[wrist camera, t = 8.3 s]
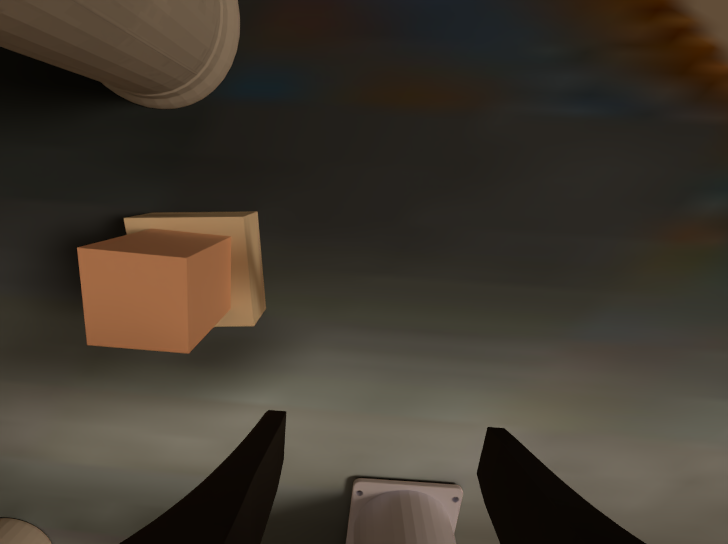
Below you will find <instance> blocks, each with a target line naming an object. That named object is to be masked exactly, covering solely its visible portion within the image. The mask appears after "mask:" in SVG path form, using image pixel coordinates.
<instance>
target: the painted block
mask: <svg viewBox="0 0 728 544" xmlns="http://www.w3.org/2000/svg"><path fill="white" fill-rule="evenodd" d="M77 251H78V261H79V270H80V280H81V289H82V299H83V309H84V318H85V328H86V337H87V345H92V346H104V347H117V348H129V349H141V350H153V351H165V352H177V353H190V352H191V351H192V350H193V348H194V347H195V346H196V345H197V344H198V343H199V342H200V341H201V340H202V339H203V338H204V337H205V336H206V335H207V334H208V333H209V331H210V330H211V329H212V328H213V327H214V326H215V325H216V324H217V323H218V322H219V321H220V320H221V319H222V318H223V317H224V316H225V314H226V313H227V312H228V311H229V310H230V309H231V236H222V235H212V234H202V233H192V232H182V231H172V230H162V229H152V228H151V229H148V230H144V231H140V232H136V233H132V234H128V235H124V236H120V237H116V238H113V239H109V240H105V241H101V242H97V243H93V244H89V245H85V246H81V247H78V248H77Z"/></svg>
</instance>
